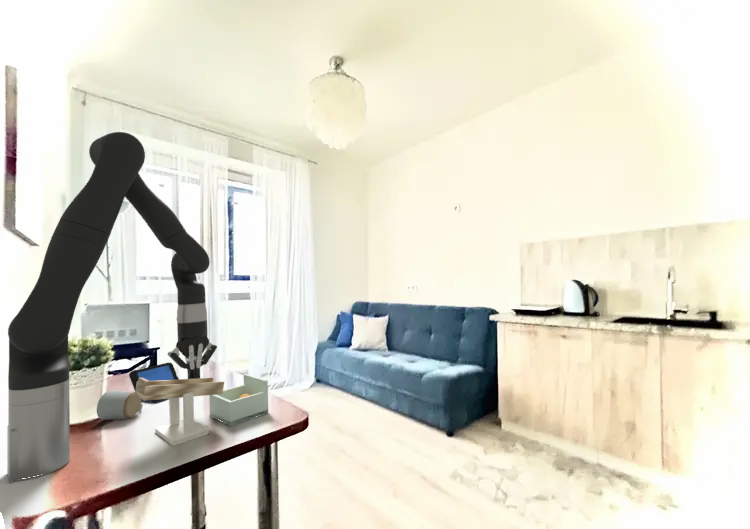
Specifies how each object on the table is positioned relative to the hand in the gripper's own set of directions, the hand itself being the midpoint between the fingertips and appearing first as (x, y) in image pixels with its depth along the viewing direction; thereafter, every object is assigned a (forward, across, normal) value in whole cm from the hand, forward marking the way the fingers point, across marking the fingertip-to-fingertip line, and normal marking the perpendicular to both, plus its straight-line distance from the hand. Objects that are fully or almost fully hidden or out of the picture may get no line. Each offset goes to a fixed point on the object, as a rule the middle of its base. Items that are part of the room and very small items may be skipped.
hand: (194, 381), depth 99 cm
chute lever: (0, -7, -5) cm, 9 cm away
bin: (+10, +8, -9) cm, 16 cm away
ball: (+6, +10, -9) cm, 15 cm away
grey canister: (+10, -13, +18) cm, 24 cm away
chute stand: (+9, -7, -9) cm, 15 cm away
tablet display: (+10, +2, +31) cm, 32 cm away
